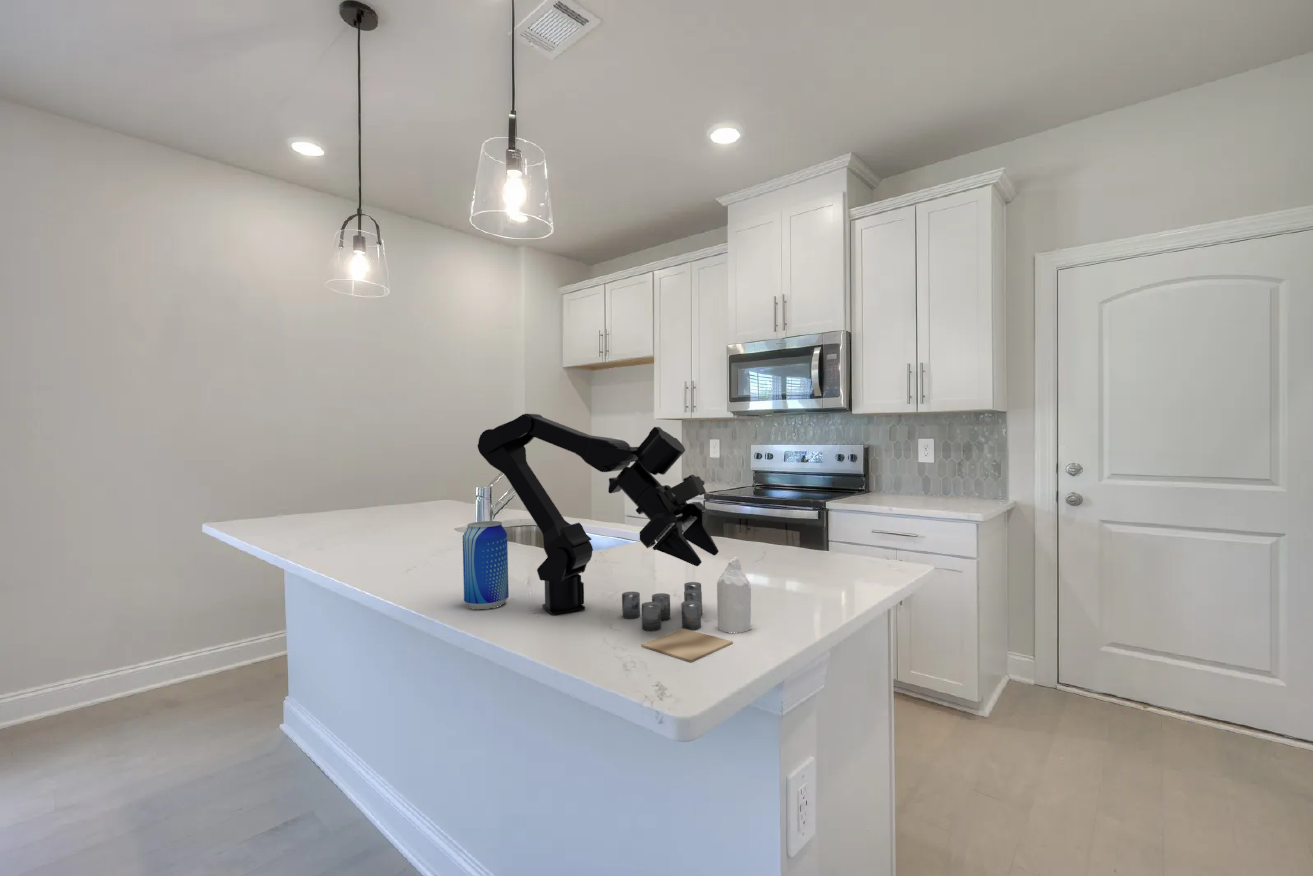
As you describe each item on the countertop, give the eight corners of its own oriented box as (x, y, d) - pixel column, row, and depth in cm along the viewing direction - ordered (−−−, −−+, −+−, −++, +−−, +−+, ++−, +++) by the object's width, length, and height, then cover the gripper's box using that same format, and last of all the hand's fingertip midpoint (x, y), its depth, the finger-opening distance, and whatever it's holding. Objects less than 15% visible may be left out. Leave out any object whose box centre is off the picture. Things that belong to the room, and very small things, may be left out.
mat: (641, 646, 91) (641, 644, 91) (683, 630, 98) (683, 628, 98) (691, 662, 84) (691, 660, 84) (732, 643, 91) (732, 641, 91)
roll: (723, 551, 103) (754, 553, 101) (724, 620, 103) (756, 624, 101) (711, 558, 98) (744, 560, 95) (712, 631, 97) (745, 635, 95)
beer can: (485, 613, 111) (482, 527, 111) (454, 607, 115) (452, 525, 115) (517, 602, 118) (515, 521, 118) (488, 597, 122) (486, 519, 122)
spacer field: (655, 637, 95) (655, 612, 95) (619, 615, 107) (619, 593, 107) (739, 621, 102) (738, 598, 102) (696, 602, 115) (695, 581, 115)
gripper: (654, 463, 94) (723, 535, 90) (694, 458, 111) (754, 518, 107) (612, 512, 97) (677, 583, 93) (657, 500, 115) (713, 560, 110)
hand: (708, 558), depth 101 cm, fingers open, 9 cm apart
